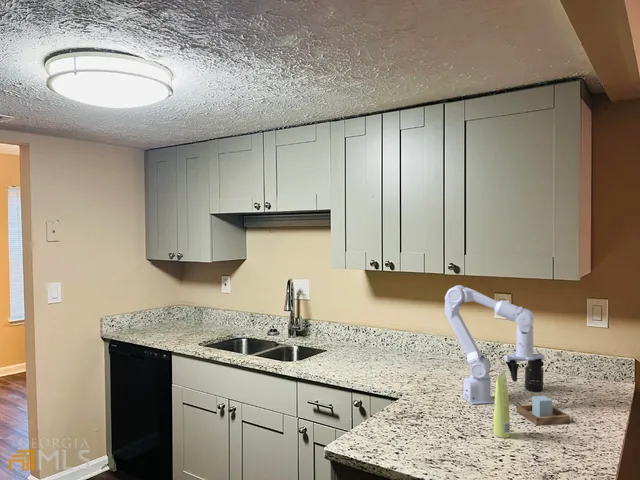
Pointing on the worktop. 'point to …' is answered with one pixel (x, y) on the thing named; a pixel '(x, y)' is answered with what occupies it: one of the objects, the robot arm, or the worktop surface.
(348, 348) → the worktop surface
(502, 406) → the tube
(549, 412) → the block
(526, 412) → the tray
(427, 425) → the worktop surface
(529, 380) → the supplement bottle
